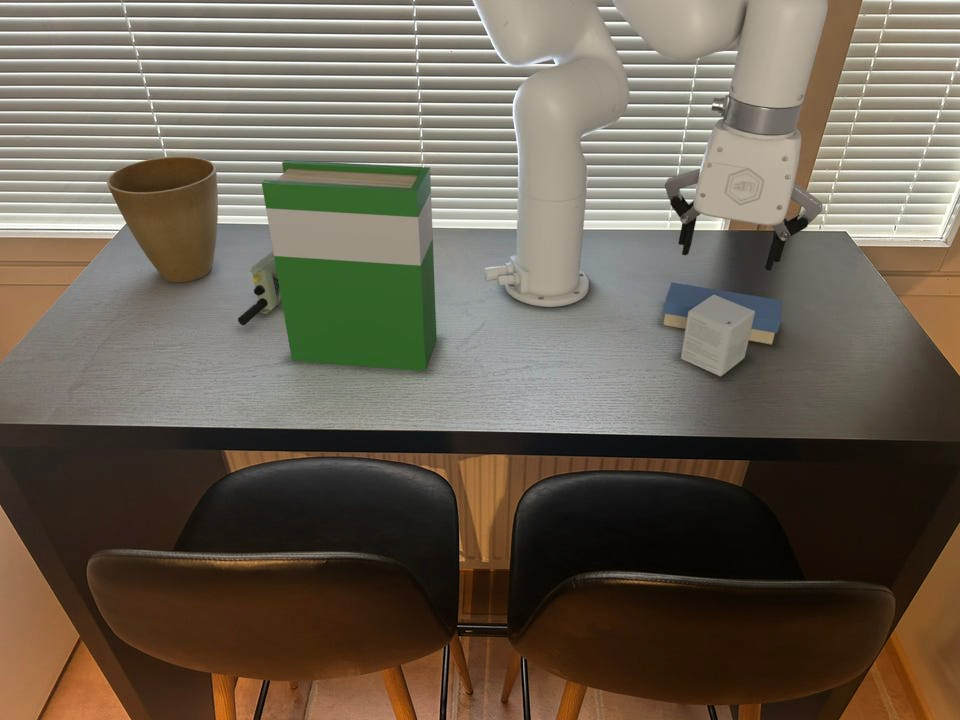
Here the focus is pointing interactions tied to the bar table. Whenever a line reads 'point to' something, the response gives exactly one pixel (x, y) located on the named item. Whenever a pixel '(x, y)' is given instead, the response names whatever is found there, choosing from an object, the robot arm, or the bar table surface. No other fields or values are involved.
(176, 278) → the plant pot
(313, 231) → the hardback book
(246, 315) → the handheld radio
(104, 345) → the bar table surface
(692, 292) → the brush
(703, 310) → the product box
